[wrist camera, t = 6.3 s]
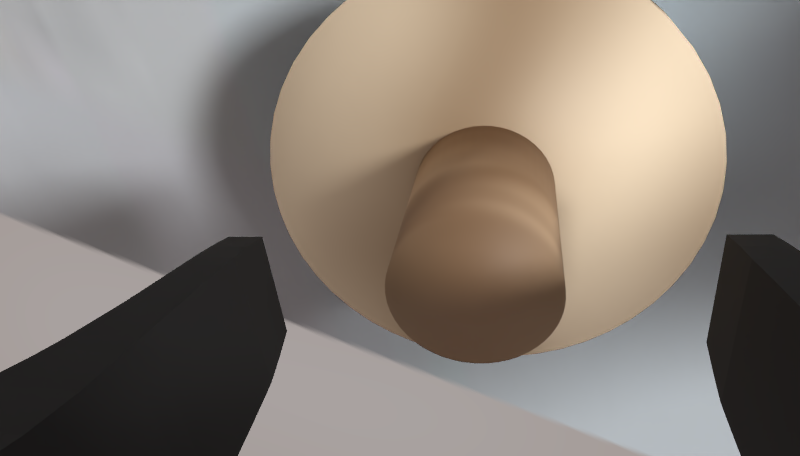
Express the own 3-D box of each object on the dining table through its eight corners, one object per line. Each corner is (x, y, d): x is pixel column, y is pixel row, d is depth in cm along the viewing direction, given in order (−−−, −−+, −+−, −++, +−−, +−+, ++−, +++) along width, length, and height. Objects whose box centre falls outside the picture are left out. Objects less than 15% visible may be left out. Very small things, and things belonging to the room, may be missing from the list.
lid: (760, -76, 10) (893, -30, 7) (678, 342, 15) (730, 503, 11) (242, -40, 12) (121, 12, 8) (316, 326, 16) (258, 462, 13)
